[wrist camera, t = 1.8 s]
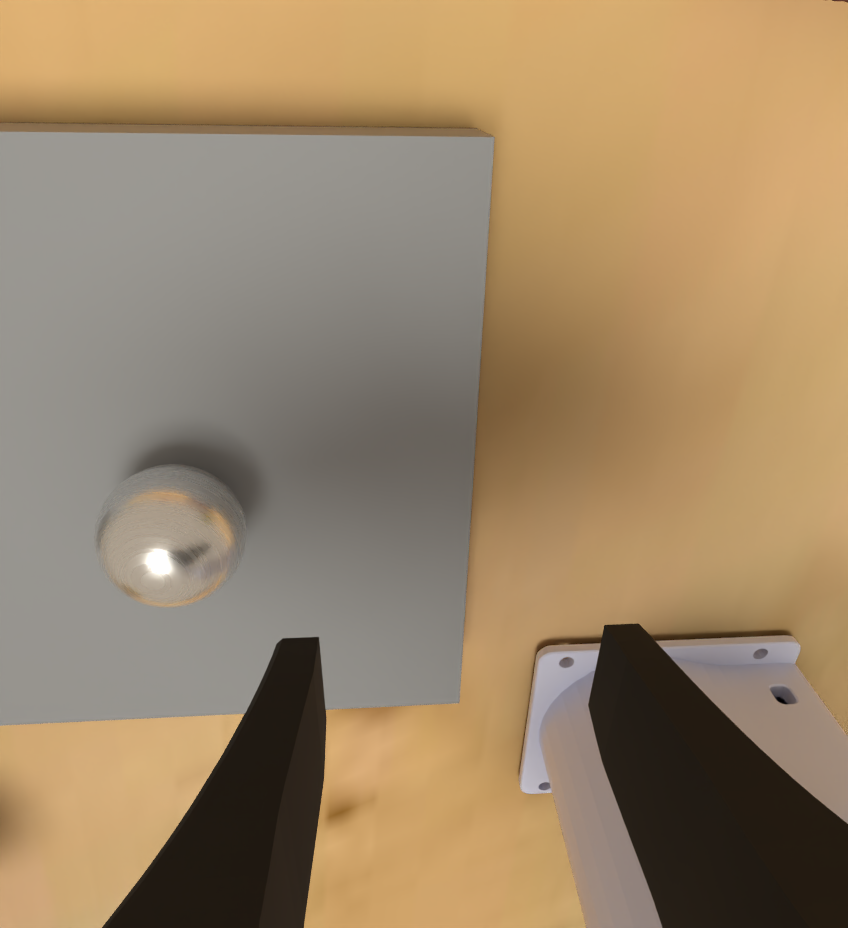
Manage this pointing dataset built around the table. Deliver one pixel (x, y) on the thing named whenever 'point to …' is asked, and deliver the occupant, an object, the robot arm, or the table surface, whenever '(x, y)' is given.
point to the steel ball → (170, 536)
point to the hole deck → (240, 403)
